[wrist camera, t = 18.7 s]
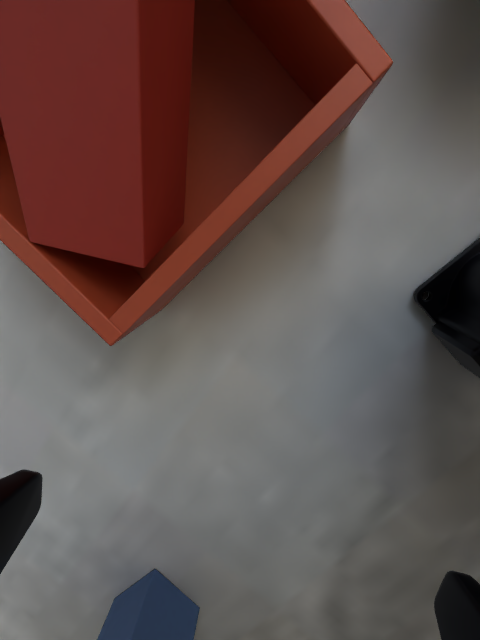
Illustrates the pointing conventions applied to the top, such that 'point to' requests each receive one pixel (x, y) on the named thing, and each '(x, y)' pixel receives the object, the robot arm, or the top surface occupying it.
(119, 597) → the blue block
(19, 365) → the top surface
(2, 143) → the red bin
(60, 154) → the red block
